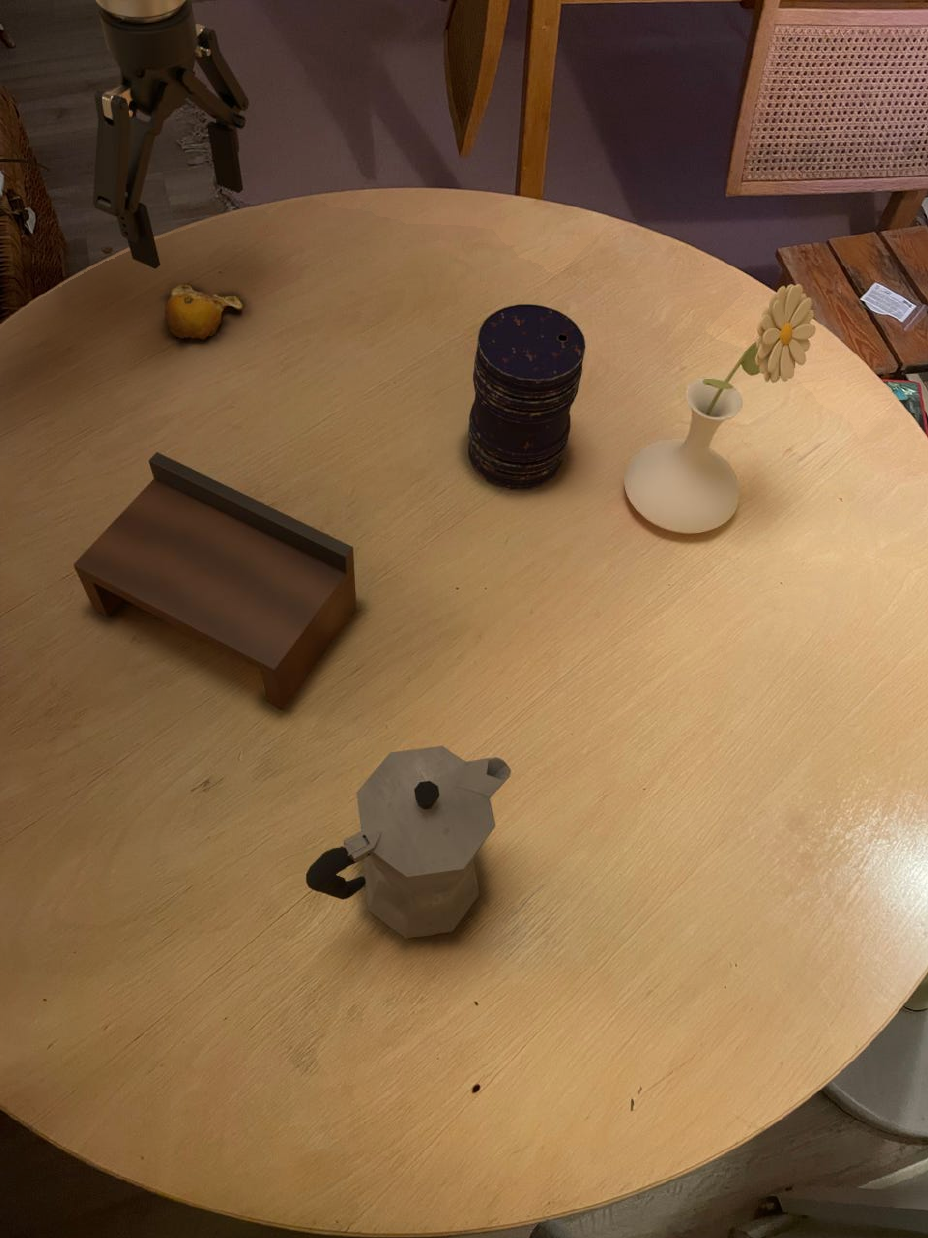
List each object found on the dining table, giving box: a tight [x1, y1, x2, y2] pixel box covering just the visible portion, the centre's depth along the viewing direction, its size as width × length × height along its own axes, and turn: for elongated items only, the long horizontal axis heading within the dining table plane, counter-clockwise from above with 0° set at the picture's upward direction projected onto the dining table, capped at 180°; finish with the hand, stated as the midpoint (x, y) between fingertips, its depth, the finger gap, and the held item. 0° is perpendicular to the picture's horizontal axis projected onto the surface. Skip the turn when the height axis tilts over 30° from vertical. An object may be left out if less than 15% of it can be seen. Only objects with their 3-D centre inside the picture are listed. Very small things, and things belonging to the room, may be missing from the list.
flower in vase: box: [623, 283, 817, 534], centre depth 93 cm, size 13×11×25 cm
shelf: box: [73, 451, 357, 711], centre depth 89 cm, size 12×20×9 cm, turn 62°
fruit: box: [164, 284, 243, 340], centre depth 111 cm, size 8×8×4 cm
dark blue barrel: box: [467, 303, 586, 491], centre depth 99 cm, size 10×10×15 cm
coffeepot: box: [305, 745, 512, 939], centre depth 73 cm, size 15×9×18 cm, turn 122°
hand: (189, 223), depth 103 cm, fingers open, 13 cm apart
